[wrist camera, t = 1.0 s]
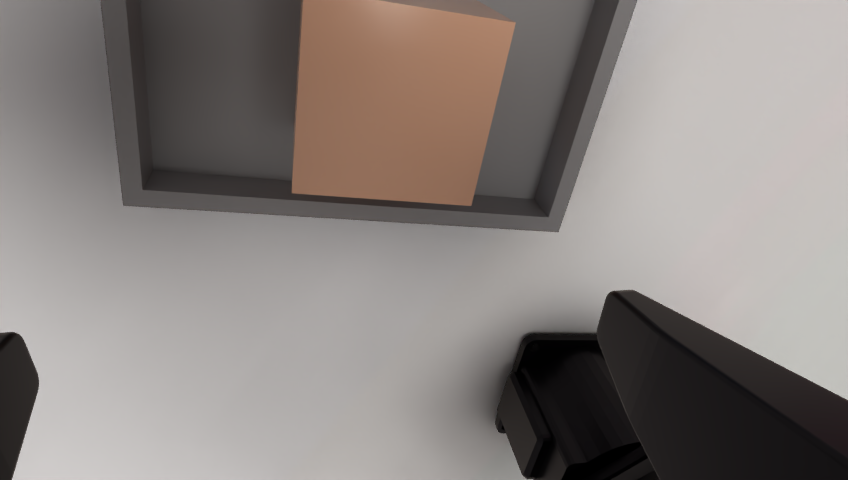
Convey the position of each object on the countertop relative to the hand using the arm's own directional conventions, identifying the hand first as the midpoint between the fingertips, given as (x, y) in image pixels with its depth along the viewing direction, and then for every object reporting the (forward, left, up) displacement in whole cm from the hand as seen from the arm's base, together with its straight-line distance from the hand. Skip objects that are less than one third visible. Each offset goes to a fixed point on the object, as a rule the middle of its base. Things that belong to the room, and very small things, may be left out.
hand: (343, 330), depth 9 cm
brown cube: (-2, -2, -12) cm, 12 cm away
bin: (-2, -2, -12) cm, 12 cm away
